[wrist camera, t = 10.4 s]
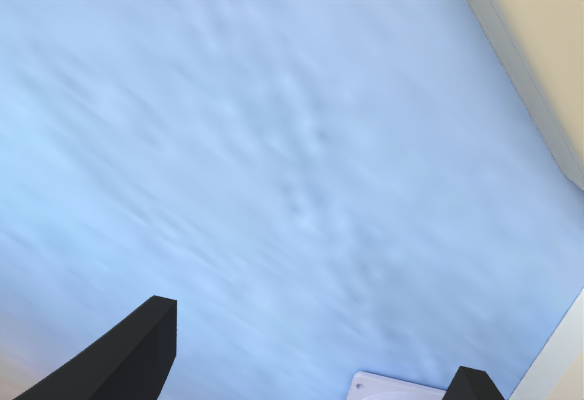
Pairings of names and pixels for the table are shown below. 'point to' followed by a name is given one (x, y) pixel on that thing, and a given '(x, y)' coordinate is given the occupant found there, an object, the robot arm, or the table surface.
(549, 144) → the electrical outlet
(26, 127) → the table surface
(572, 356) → the power strip
